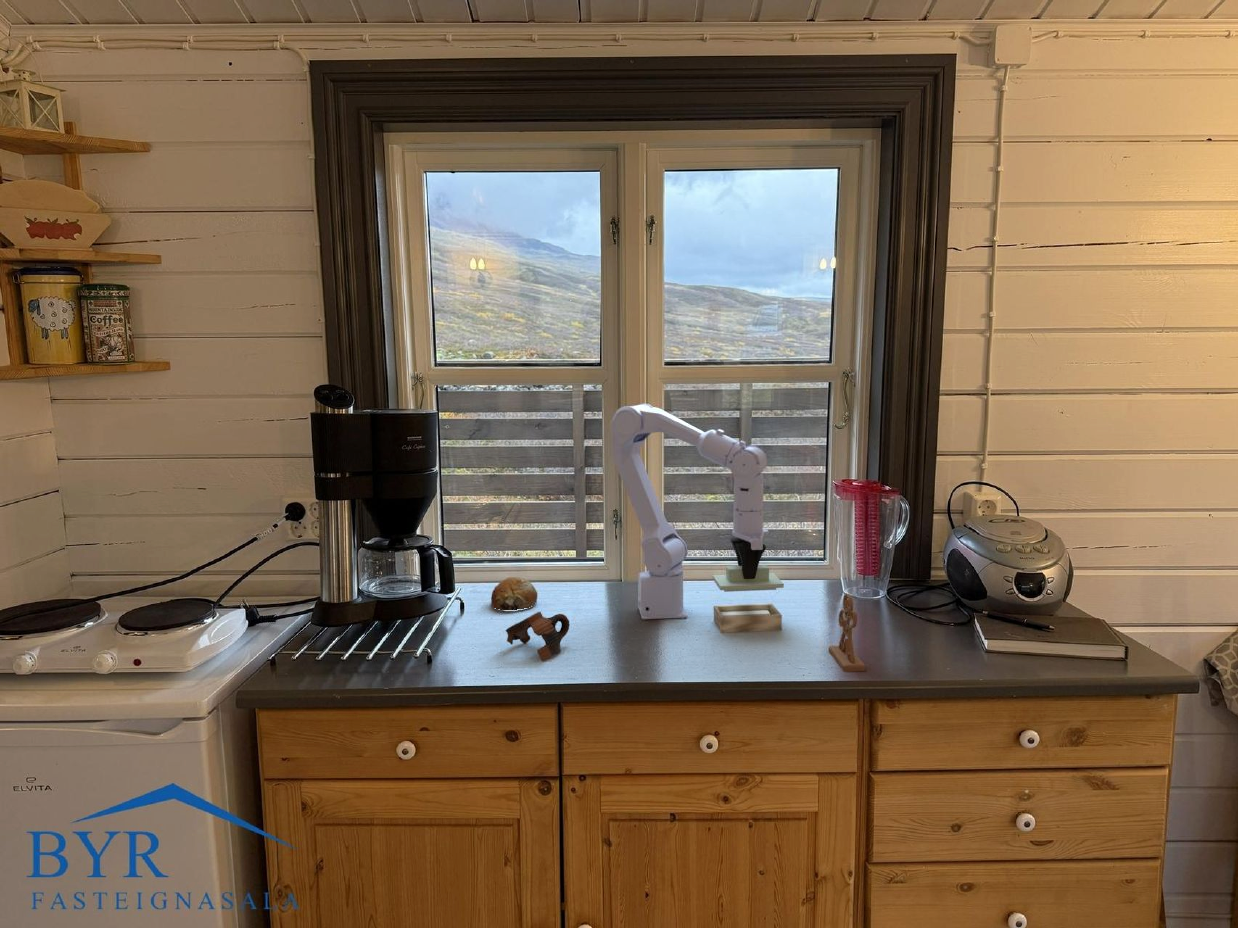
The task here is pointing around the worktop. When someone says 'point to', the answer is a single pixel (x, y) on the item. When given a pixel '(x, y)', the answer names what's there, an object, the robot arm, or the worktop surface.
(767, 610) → the box
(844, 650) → the tan tall carved piece
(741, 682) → the worktop surface
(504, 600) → the bread roll
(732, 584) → the lid
